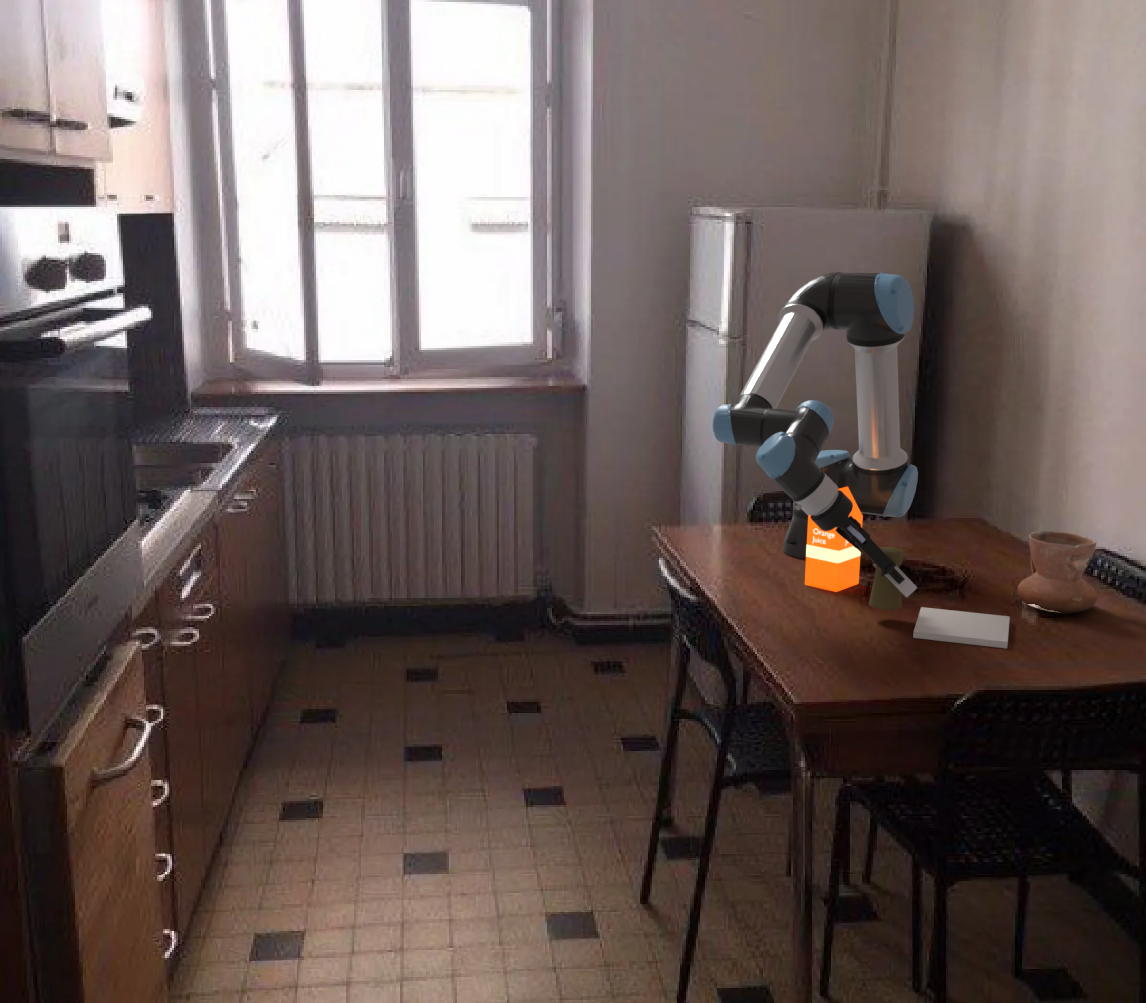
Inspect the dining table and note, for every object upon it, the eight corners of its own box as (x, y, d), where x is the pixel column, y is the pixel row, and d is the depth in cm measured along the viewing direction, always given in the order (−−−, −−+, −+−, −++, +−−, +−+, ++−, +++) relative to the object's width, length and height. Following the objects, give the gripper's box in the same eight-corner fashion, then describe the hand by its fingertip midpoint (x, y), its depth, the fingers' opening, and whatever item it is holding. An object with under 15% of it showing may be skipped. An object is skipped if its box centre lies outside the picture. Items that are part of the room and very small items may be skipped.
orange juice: (859, 583, 260) (865, 489, 255) (836, 592, 253) (842, 495, 249) (826, 576, 265) (831, 483, 261) (803, 584, 259) (808, 489, 254)
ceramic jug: (1113, 620, 237) (1121, 547, 234) (1039, 621, 235) (1046, 547, 233) (1067, 595, 254) (1074, 526, 252) (998, 595, 253) (1004, 526, 250)
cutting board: (913, 637, 225) (913, 631, 225) (920, 613, 240) (921, 607, 240) (1007, 648, 220) (1007, 642, 220) (1009, 622, 235) (1009, 616, 234)
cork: (904, 602, 236) (908, 546, 234) (898, 611, 231) (902, 553, 229) (872, 598, 239) (876, 542, 236) (865, 607, 233) (869, 550, 231)
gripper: (796, 506, 239) (875, 587, 244) (823, 529, 221) (908, 616, 226) (825, 478, 238) (903, 560, 243) (854, 499, 220) (938, 587, 225)
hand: (905, 587), depth 235 cm, fingers closed on cork, 5 cm apart
